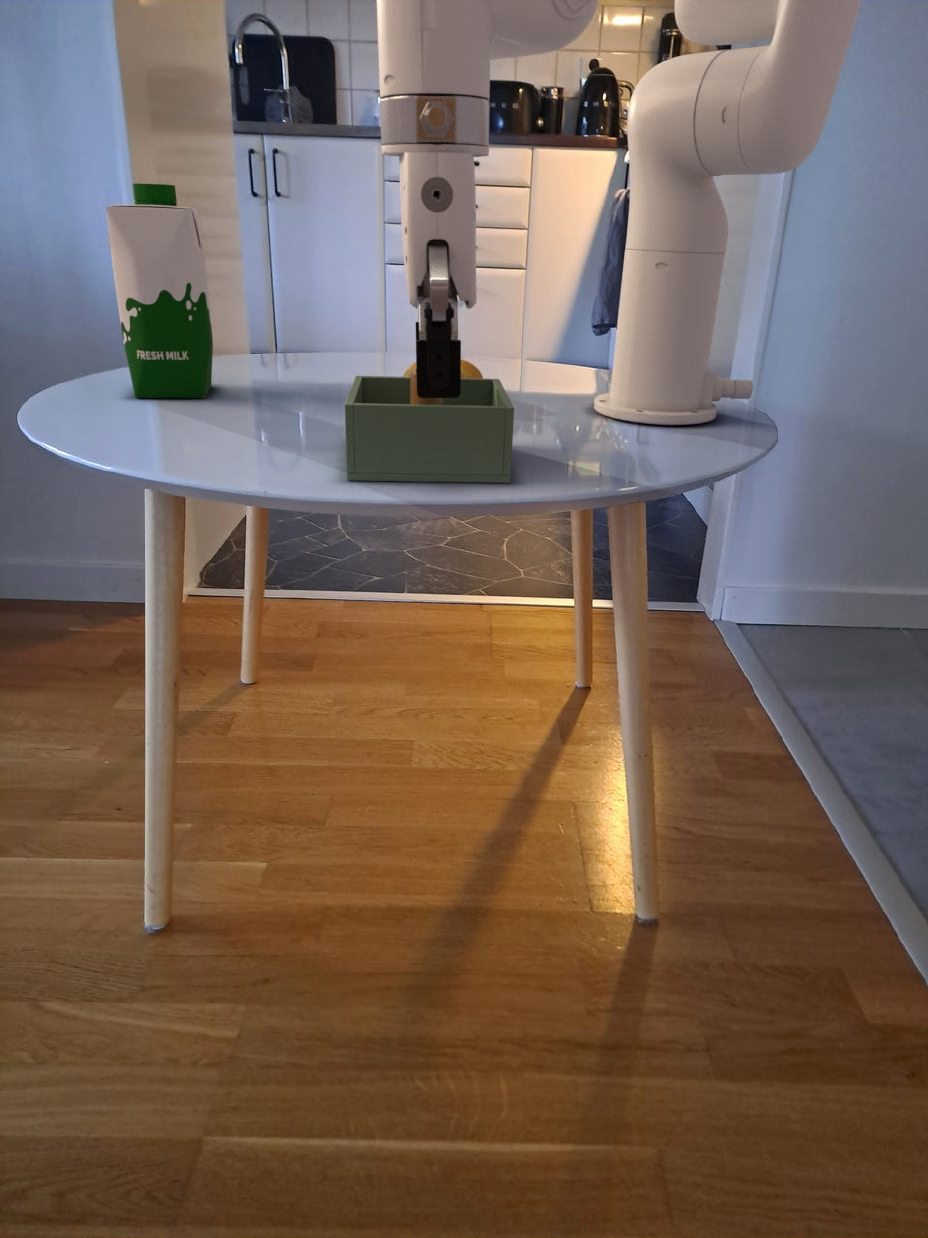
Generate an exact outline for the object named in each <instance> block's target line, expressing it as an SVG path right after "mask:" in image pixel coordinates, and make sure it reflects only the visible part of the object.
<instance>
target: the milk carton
mask: <svg viewBox="0 0 928 1238" xmlns="http://www.w3.org/2000/svg"><path fill="white" fill-rule="evenodd" d="M132 190H133V200H134V204H110V205H109V206H105V212H106V220H107V226H108V227H107V228H108V230H107V231H108V232H107V233H108V246H110V253H111V254H110V255H111V264H112V272H113V279H114V287H115V292H116V293H115V294H116V300H117V307H118V308H117V309H118V313H119V322H120V329H121V330H120V331H121V335H122V341H123V347H124V352H125V357H126V361H127V365H128V370H129V374H130V379H131V385H132V389H133V393H134V398H135V399H205V397H206V396H207V394H208V393H209V390H210V389H211V388H212V381H213V380H212V379H213V378H212V377H213V376H212V375H213V353H214V341H213V339H214V338H213V327H212V318H211V317H212V316H211V307H210V297H209V296H210V294H209V286H208V273H207V264H206V255H205V250H204V243H203V242H204V241H203V232H202V226H201V225H202V224H201V220H200V215H199V210H198V209H197V208H193V207H187V206H177V205H178V202H177V201H178V200H177V193H176V185H174V184H161V183H137V182H135V183H132Z"/></svg>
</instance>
